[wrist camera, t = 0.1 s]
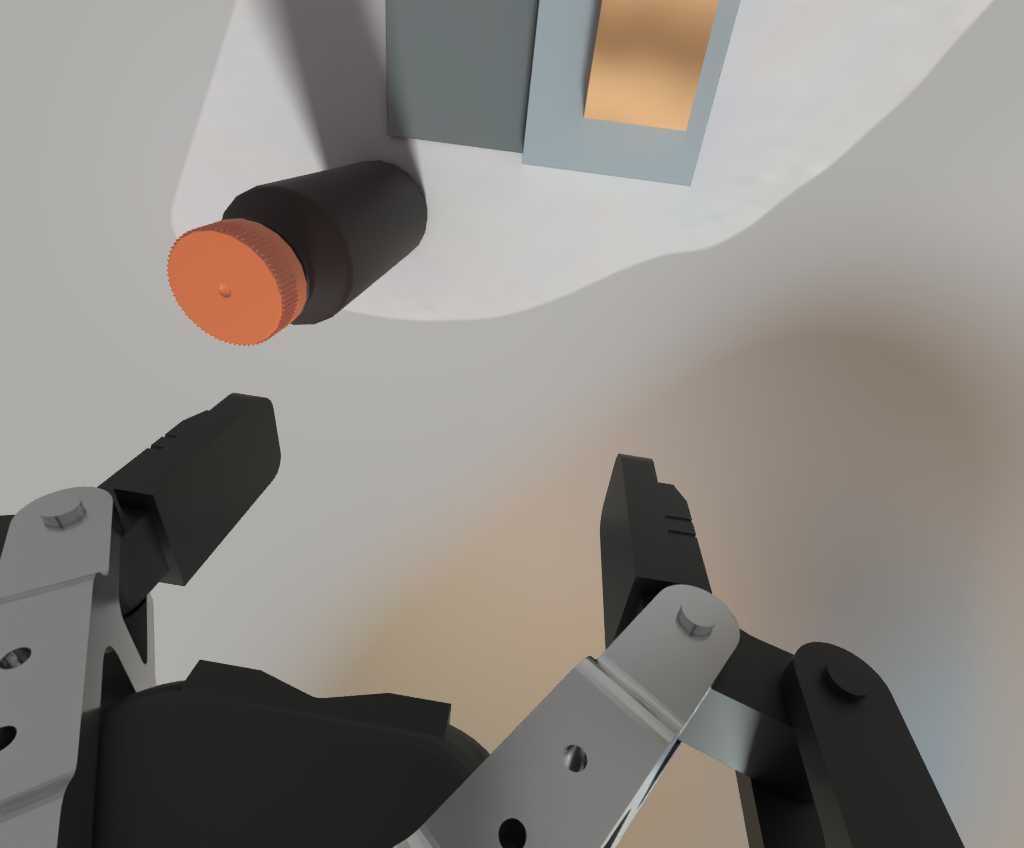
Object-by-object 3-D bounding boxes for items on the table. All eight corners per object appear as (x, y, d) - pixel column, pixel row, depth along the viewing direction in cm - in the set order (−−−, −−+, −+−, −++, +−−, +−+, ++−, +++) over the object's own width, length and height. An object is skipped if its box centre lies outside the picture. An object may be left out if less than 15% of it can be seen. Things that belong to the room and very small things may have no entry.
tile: (614, -81, 27) (617, -94, 25) (728, -68, 27) (739, -80, 25) (583, 117, 32) (583, 117, 30) (680, 130, 31) (686, 130, 30)
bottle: (350, 142, 36) (142, 169, 19) (441, 185, 36) (320, 248, 19) (331, 235, 39) (140, 328, 22) (413, 272, 40) (291, 389, 23)
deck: (562, -181, 27) (561, -201, 25) (774, -158, 26) (788, -177, 24) (524, 161, 35) (521, 163, 33) (684, 182, 35) (690, 186, 33)
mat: (385, -133, 28) (383, -135, 28) (551, -114, 28) (551, -116, 28) (389, 135, 35) (388, 135, 35) (522, 152, 35) (522, 153, 35)
